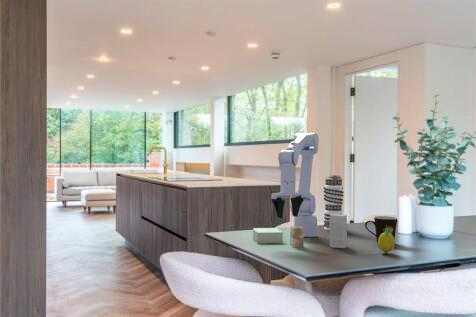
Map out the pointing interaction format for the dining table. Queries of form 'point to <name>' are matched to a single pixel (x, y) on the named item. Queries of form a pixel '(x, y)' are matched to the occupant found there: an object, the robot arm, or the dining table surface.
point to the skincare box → (338, 231)
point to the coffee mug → (383, 225)
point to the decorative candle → (332, 198)
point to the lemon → (386, 241)
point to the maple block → (296, 236)
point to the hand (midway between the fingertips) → (287, 217)
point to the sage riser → (267, 235)
